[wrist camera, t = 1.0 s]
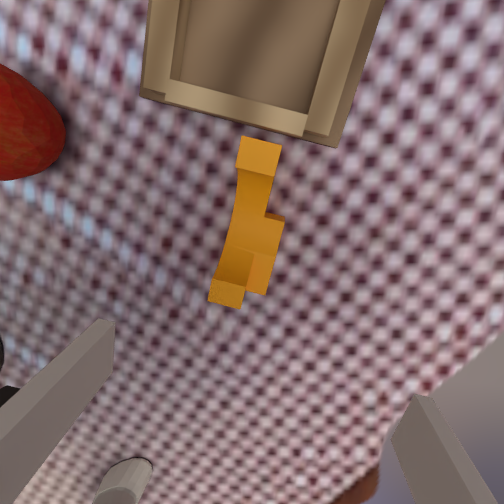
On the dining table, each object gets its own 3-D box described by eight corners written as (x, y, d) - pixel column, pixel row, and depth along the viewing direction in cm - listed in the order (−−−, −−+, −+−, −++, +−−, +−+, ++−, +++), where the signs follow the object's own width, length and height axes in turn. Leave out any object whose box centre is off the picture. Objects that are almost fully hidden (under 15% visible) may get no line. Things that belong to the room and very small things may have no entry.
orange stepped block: (266, 280, 28) (262, 315, 22) (223, 268, 28) (207, 300, 22) (302, 152, 24) (309, 152, 18) (251, 139, 24) (241, 135, 18)
